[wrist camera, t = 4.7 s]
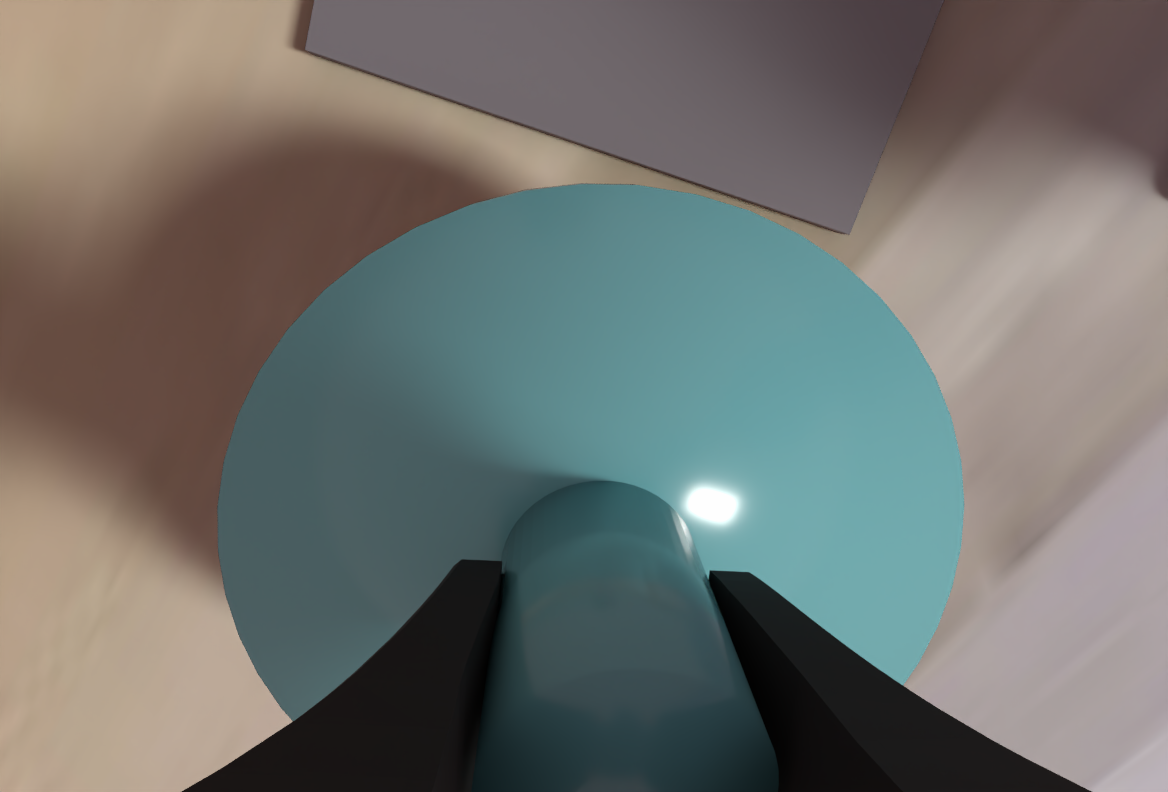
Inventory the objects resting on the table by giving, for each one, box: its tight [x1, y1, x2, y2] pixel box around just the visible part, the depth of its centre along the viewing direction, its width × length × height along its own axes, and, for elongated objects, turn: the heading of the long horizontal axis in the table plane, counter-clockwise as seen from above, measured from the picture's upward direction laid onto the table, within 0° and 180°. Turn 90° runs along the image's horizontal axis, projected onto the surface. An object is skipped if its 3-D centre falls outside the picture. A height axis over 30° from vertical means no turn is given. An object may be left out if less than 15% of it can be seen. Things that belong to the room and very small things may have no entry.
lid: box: [217, 183, 964, 792], centre depth 9 cm, size 12×12×5 cm
